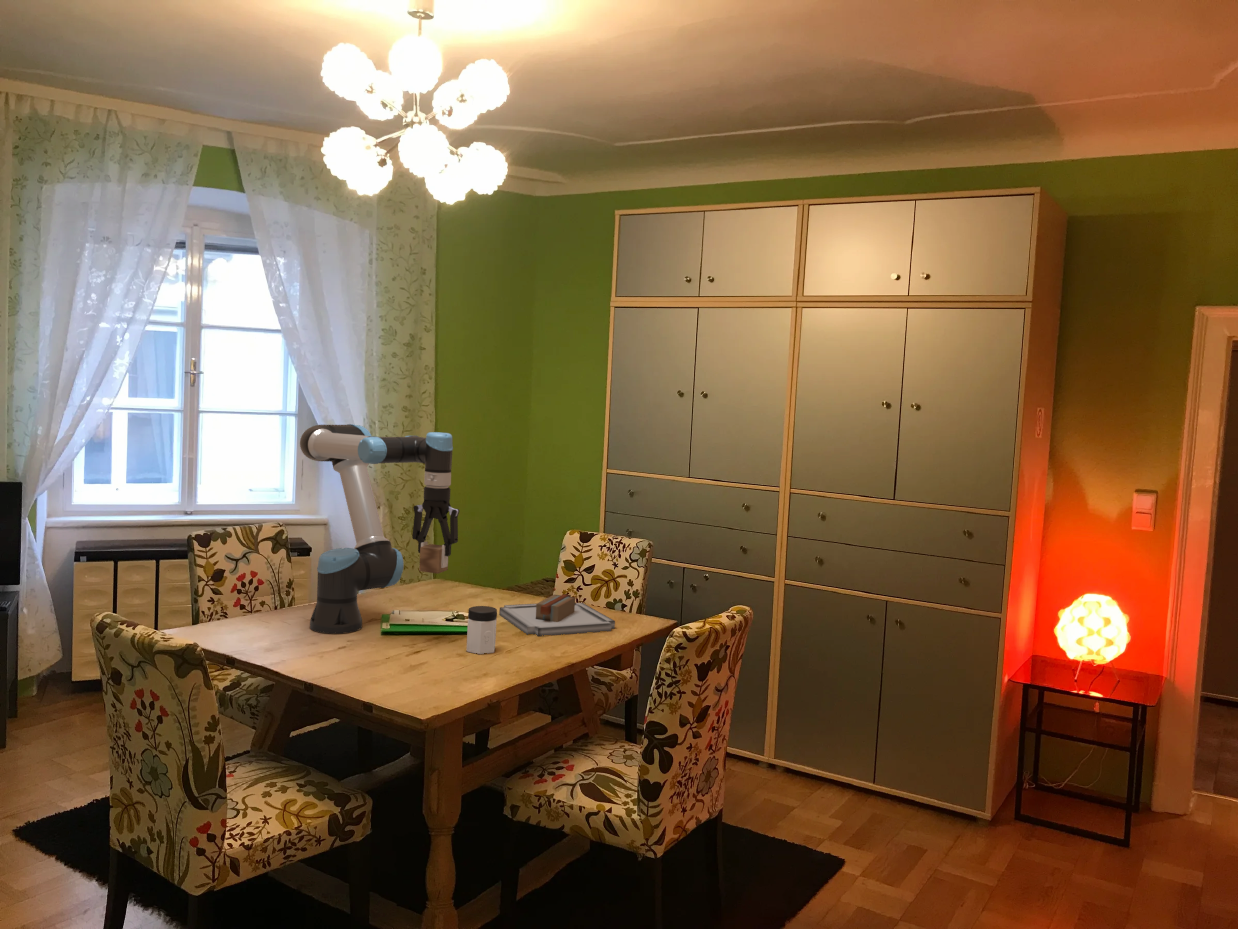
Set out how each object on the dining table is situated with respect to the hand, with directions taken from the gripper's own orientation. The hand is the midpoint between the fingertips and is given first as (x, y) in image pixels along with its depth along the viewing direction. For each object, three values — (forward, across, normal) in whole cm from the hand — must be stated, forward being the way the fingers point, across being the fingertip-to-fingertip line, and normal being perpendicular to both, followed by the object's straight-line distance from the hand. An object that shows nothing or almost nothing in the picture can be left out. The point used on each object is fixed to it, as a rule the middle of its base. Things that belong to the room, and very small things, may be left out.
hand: (433, 565), depth 285 cm
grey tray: (+24, +24, +41) cm, 53 cm away
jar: (+23, +16, 0) cm, 28 cm away
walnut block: (+1, 0, 0) cm, 1 cm away
